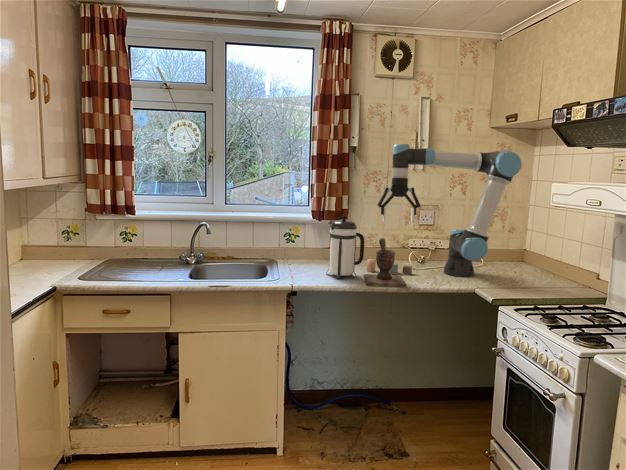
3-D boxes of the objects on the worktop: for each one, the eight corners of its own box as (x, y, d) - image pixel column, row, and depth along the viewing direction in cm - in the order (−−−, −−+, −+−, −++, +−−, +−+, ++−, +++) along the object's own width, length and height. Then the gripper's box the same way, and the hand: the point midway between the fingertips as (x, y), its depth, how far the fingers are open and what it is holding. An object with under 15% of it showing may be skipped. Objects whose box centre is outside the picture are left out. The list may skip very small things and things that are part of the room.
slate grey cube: (393, 271, 235) (394, 262, 234) (397, 274, 230) (398, 264, 229) (384, 272, 234) (385, 262, 233) (388, 274, 229) (388, 264, 228)
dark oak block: (411, 273, 232) (412, 266, 231) (410, 275, 228) (410, 267, 228) (403, 272, 233) (404, 265, 233) (402, 274, 230) (402, 266, 229)
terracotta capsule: (374, 270, 236) (375, 259, 235) (375, 272, 232) (376, 260, 231) (366, 269, 236) (366, 258, 235) (367, 272, 232) (367, 260, 231)
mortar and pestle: (394, 282, 207) (397, 239, 204) (375, 281, 208) (377, 238, 205) (392, 276, 218) (395, 235, 215) (374, 275, 219) (377, 234, 216)
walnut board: (400, 278, 221) (400, 275, 221) (406, 287, 205) (406, 284, 205) (363, 277, 221) (363, 274, 221) (366, 285, 206) (366, 282, 205)
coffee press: (354, 281, 212) (358, 218, 207) (322, 277, 217) (324, 215, 212) (362, 273, 228) (366, 214, 223) (332, 270, 233) (335, 212, 228)
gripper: (424, 177, 219) (421, 220, 222) (372, 176, 218) (371, 220, 221) (428, 177, 211) (425, 222, 215) (374, 177, 211) (373, 222, 214)
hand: (398, 221), depth 218 cm, fingers open, 13 cm apart
